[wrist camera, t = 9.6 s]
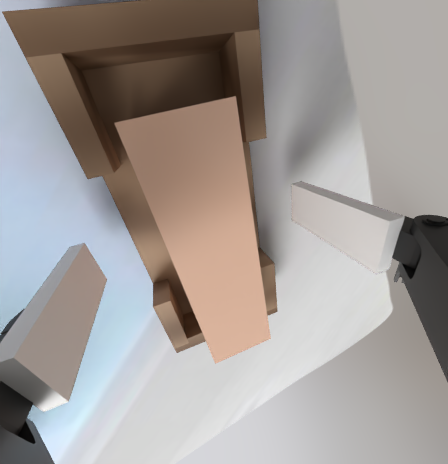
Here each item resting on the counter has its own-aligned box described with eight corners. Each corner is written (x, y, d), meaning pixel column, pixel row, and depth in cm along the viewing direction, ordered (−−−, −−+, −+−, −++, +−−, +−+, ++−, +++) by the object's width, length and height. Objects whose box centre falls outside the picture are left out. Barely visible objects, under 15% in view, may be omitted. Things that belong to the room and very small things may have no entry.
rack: (43, 44, 9) (1, 11, 7) (232, 23, 11) (256, -9, 8) (173, 323, 19) (176, 352, 17) (262, 289, 21) (277, 311, 18)
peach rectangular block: (132, 126, 11) (114, 123, 6) (200, 111, 12) (235, 95, 7) (197, 298, 18) (215, 363, 13) (238, 282, 19) (270, 338, 14)
